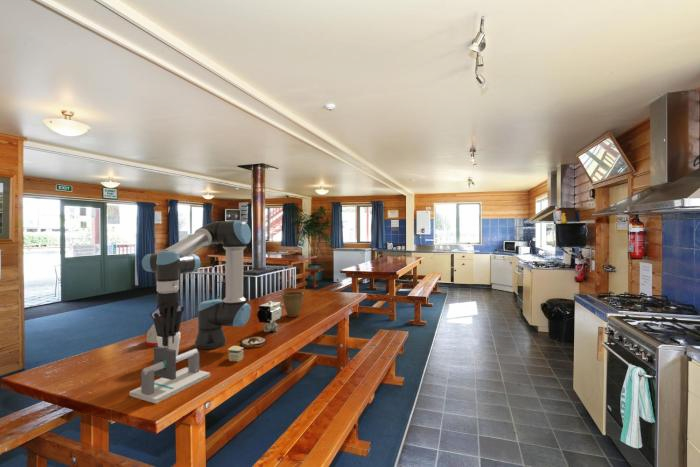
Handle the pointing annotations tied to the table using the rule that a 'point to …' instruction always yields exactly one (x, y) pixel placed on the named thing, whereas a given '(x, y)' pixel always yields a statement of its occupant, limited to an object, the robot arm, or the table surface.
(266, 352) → the table surface
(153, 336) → the kitchen timer
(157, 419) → the table surface
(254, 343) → the white shallow bowl
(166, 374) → the collar
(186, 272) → the robot arm
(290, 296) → the plant pot
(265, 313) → the ball valve
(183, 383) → the pipe rig
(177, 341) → the foam cup
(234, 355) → the beige layered block
